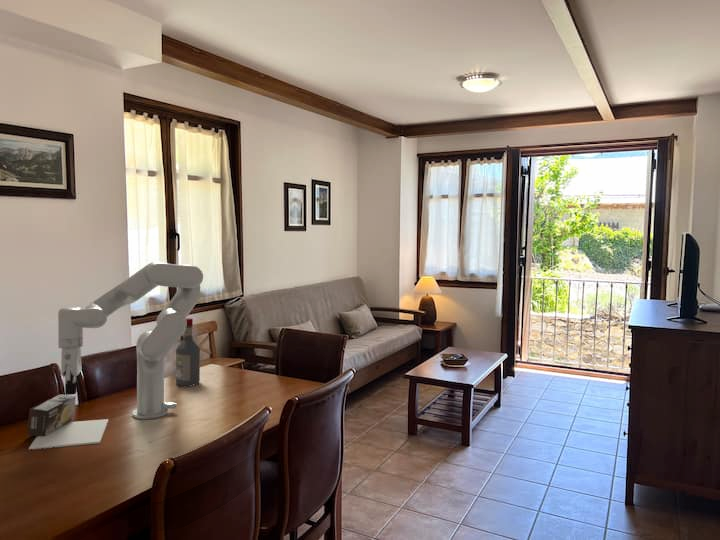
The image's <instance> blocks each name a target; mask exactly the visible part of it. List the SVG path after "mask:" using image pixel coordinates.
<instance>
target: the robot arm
mask: <svg viewBox="0 0 720 540" xmlns="http://www.w3.org/2000/svg"><path fill="white" fill-rule="evenodd" d="M203 280H204V274H203V270H201V269H200V267H198V266H196V265H194V264H193V265H192V264H188V263H186V264H174V263H167V262H162V261H157V260H156V261H152V262H150V263H148V264H147V265H145V266H143V267H142V268H140V270H137V272H135V273H134V274H132V275H131V276H130V277H128V278H127V279H124V281H122V282H121V283H119V284H117V285H116V286H115V287H113V288H112V289H110V290H109V291H107V292H105V293H104V294H102V295H101V296H99V297H98V298H97V299H95V300H94V301H92V302H90V304H88V305H87V306H86V307H85V308H81V307H79V306H76V307H75V306H70V307H61V308H60V309H59V310H58V313H57V314H58V315H57V316H58V317H57V318H58V320H57V322H58V323H57V324H58V326H57V327H58V328H57V329H58V330H57V331H58V334H57V337H58V338H57V339H58V340H57V343H58V348H59V349H61V359H60V361H61V362H60V363H61V366H60V367H61V368H60V370H61V376H62V377H64V379H65V380H64V381H65V382H64V383H65V385H64V386H65V387H64V392H65V394H64V395H70V396H72V395H76V394H77V376H79V374H80V373H81V372H82V369H83V367H82V353H81V352H82V348H81V347H83V346H84V345H83V343H84V341H83V339H84V338H83V336H84V334H83V333H84V331H83V328H85V329H98V328H99V329H100V328H102V327H103V326H104V325H105V324H106V323H107V321H108V317H109V316H110V315H112V314H113V313H115V312H116V311H118V310H119V309H121V308H123V307H124V306H126V305H130V304H134V303H136V302H137V301H139V300H140V299H142V298H143V297H144V296H146V295H147V294H149V293H150V292H152V290H154V289H155V288H157V287H158V286H161V287H165V288H166V287H169V288H177V291H176V293H175V294H174V296H172V298H171V299H170V301H169V302H168V303H167V304H166V305H165V307H164V308H163V310H162V311H160V313H159V314H158V315H157V317H156V325H155V327H154V328H153V329H152V330H148V331H144V332H143V333H141V334H140V335H139V336H138V338H137V341H136V348H135V349H136V371H137V373H136V409H134V410H133V411H132V417H133V418H135V419H139V420H151V419H158V418H162V417H164V416H166V415H167V414H169V409H177V403H176V402H171V401H170V402H167V401H166V399H165V357H166V356H167V355H168V354H169V352H170V351H171V350H172V349H173V347H174V346H175V345H176V344H177V343H178V342H179V340H180V339H181V337H182V336H183V334H184V331H185V329H186V326H187V320H186V319H187V317H188V316H189V314H190V313H191V311H192V310H193V309H194V307H195V306H196V305H197V303H198V300H199V298H200V295H201V284H202V283H203Z"/></svg>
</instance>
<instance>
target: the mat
mask: <svg viewBox="0 0 720 540" xmlns="http://www.w3.org/2000/svg"><path fill="white" fill-rule="evenodd" d="M107 423H109V418H106V419H105V418H103V419H92V420H80V421H79V420H78V421H71V422H69V423H67V424H66V425H64V426H62V427H61V428H59V429H57V430H55V431H54V432H52V433H50V434H49V435H47V436H35V438H34V440H33V441H32V443H31V444H30V445H29V447H28V450H29V451H31V449H32V450H39V449H40V450H41V449H42V448H43V449H51V448H53V447H54V448H63V447H64V448H65V447H74V446H76V447H77V446H87V445H96V444H101V442H102V439H103V435H104V433H105V431H106V429H107V425H108V424H107Z"/></svg>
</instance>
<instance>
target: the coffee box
mask: <svg viewBox="0 0 720 540" xmlns="http://www.w3.org/2000/svg"><path fill="white" fill-rule="evenodd" d="M76 397H77V396H76V395H66V394H62V393H61V394H58V395H55V396H54V397H52V398H50V399H47V400H46V401H44V402H41V403H39V404H37V405H35V406H33V407H31V408H29V412H28V423H27V436H35V437H37V436H47V435H49V434H50V433H52V432H54V431H55V430H57V429H59V428H61V427H62V426H64V425H66V424H67V423H69V422H74V418H75V407H76V406H75V405H76Z"/></svg>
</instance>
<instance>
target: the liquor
mask: <svg viewBox="0 0 720 540" xmlns="http://www.w3.org/2000/svg"><path fill="white" fill-rule="evenodd" d="M186 320H187V326H186V329H185V331H184V333H183V334H184V336H183V340H182V341H181V342H180V343H179V345H178V346H177V347H176V350H175V384H176V385H177V384H178V385H177V386H180V385H182V386H181V387H184V386H186V387H191V386H190V385H193V384H197V383H198V384H199V383H200V381H201V380H200V378H201V377H200V375H201V366H200V365H201V349H200V345H199V344H197V342H196V341H195V340H194V338H193V324H194V323H193V318H186ZM198 384H197V385H198ZM193 386H194V385H193Z"/></svg>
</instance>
